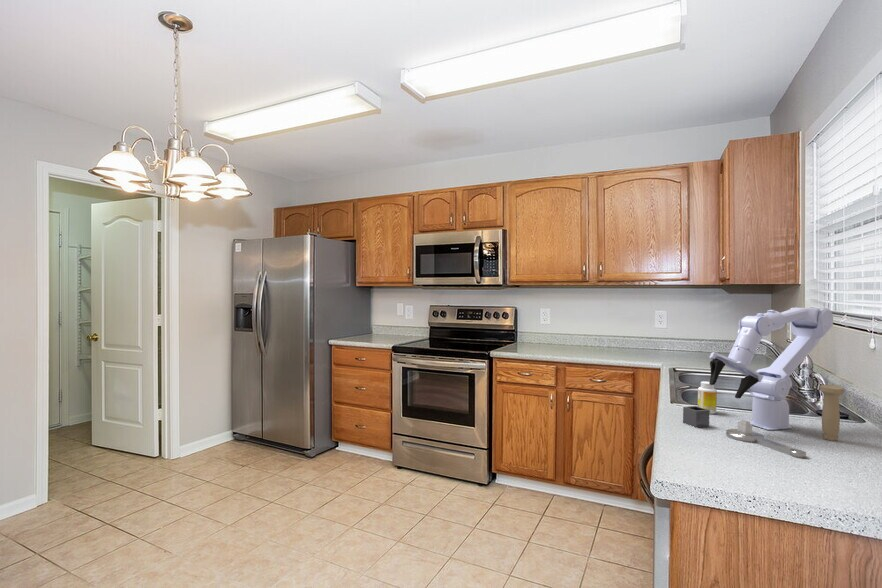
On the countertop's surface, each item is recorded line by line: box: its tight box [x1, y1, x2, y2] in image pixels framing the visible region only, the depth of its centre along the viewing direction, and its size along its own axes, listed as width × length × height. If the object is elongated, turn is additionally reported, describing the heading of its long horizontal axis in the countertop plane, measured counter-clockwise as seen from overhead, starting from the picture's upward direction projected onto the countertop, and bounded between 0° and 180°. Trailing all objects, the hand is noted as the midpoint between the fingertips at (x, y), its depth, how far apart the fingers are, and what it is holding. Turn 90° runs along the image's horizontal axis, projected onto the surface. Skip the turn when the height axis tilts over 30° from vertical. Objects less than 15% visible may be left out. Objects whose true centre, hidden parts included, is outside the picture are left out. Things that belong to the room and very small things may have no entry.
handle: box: [819, 384, 844, 442], centre depth 127 cm, size 5×6×15 cm
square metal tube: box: [682, 405, 710, 428], centre depth 139 cm, size 5×5×5 cm
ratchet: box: [725, 419, 807, 459], centre depth 122 cm, size 9×21×5 cm, turn 16°
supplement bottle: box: [697, 380, 718, 415], centre depth 154 cm, size 6×6×10 cm
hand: (724, 391), depth 133 cm, fingers open, 7 cm apart
